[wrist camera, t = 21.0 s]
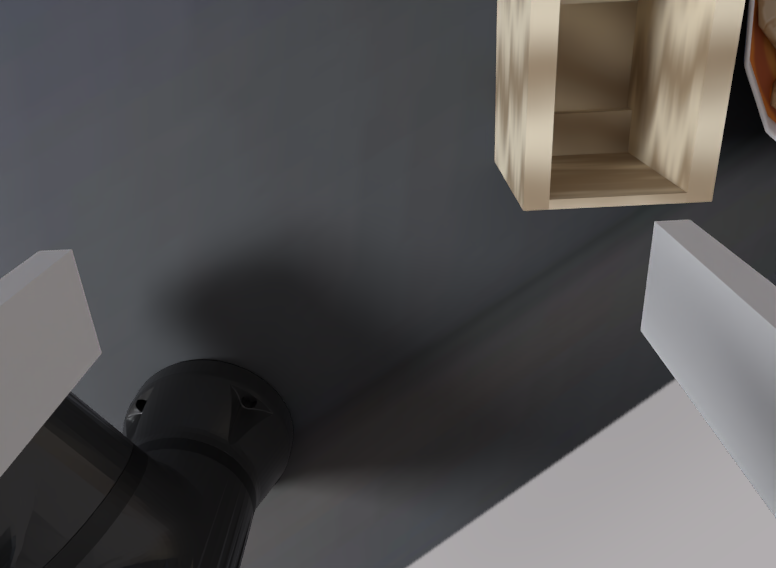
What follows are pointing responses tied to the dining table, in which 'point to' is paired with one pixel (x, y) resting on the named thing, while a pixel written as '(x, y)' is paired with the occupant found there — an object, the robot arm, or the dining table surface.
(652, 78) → the box
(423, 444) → the dining table surface
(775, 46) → the ramen bowl
